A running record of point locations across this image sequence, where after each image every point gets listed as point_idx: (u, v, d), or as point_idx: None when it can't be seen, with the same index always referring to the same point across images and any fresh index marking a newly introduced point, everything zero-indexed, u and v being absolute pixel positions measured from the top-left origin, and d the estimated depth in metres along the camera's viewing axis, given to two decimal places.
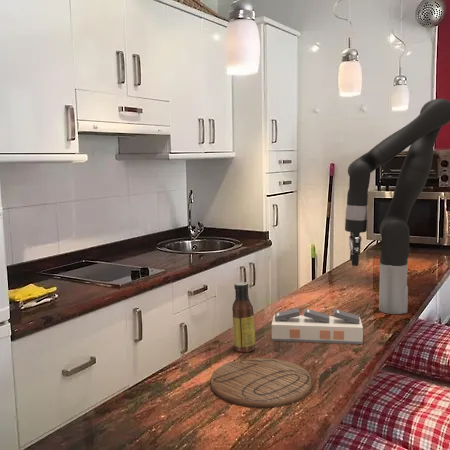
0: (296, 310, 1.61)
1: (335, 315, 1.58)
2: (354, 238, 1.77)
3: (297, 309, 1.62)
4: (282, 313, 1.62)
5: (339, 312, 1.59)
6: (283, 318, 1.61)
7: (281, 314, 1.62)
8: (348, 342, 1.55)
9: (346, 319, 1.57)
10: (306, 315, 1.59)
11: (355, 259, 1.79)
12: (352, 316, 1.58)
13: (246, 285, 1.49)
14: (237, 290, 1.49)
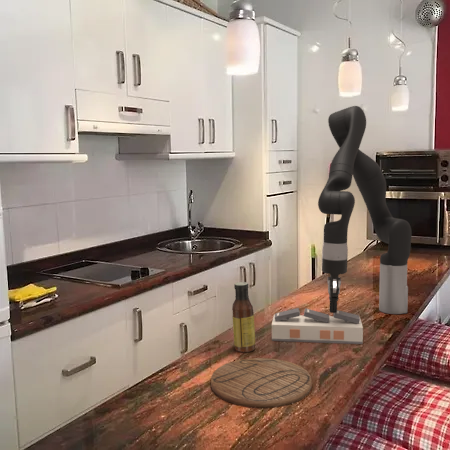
0: (296, 310, 1.61)
1: (335, 315, 1.58)
2: (331, 289, 1.53)
3: (297, 309, 1.62)
4: (282, 313, 1.62)
5: (339, 312, 1.59)
6: (283, 318, 1.61)
7: (281, 314, 1.62)
8: (348, 342, 1.55)
9: (346, 319, 1.57)
10: (306, 315, 1.59)
11: (333, 305, 1.58)
12: (352, 316, 1.58)
13: (246, 285, 1.49)
14: (237, 290, 1.49)
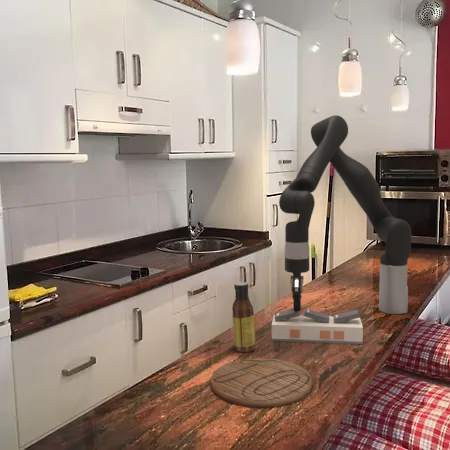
0: None
1: (335, 321, 1.58)
2: (293, 288, 1.55)
3: None
4: (282, 313, 1.62)
5: (338, 316, 1.59)
6: (283, 318, 1.61)
7: (281, 314, 1.62)
8: (348, 342, 1.55)
9: (347, 319, 1.57)
10: (306, 315, 1.59)
11: (296, 304, 1.60)
12: (350, 313, 1.58)
13: (246, 285, 1.49)
14: (237, 290, 1.49)
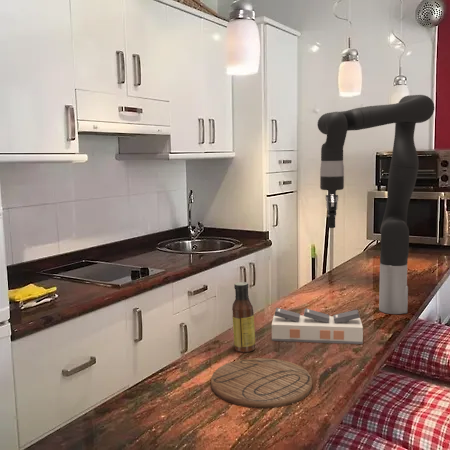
0: (297, 315, 1.61)
1: (335, 321, 1.58)
2: (329, 203, 1.64)
3: (298, 314, 1.62)
4: (283, 311, 1.62)
5: (338, 316, 1.59)
6: (282, 316, 1.60)
7: (282, 311, 1.62)
8: (348, 342, 1.55)
9: (347, 319, 1.57)
10: (306, 315, 1.59)
11: (331, 221, 1.69)
12: (350, 313, 1.58)
13: (246, 285, 1.49)
14: (237, 290, 1.49)
